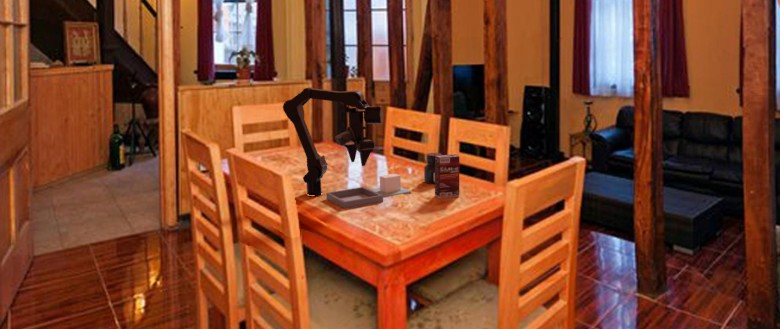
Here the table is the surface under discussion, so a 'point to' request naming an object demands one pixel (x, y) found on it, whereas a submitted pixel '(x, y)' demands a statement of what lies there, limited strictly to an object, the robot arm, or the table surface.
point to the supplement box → (447, 176)
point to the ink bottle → (430, 168)
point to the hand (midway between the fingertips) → (358, 163)
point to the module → (390, 183)
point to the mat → (402, 191)
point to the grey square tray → (354, 197)
